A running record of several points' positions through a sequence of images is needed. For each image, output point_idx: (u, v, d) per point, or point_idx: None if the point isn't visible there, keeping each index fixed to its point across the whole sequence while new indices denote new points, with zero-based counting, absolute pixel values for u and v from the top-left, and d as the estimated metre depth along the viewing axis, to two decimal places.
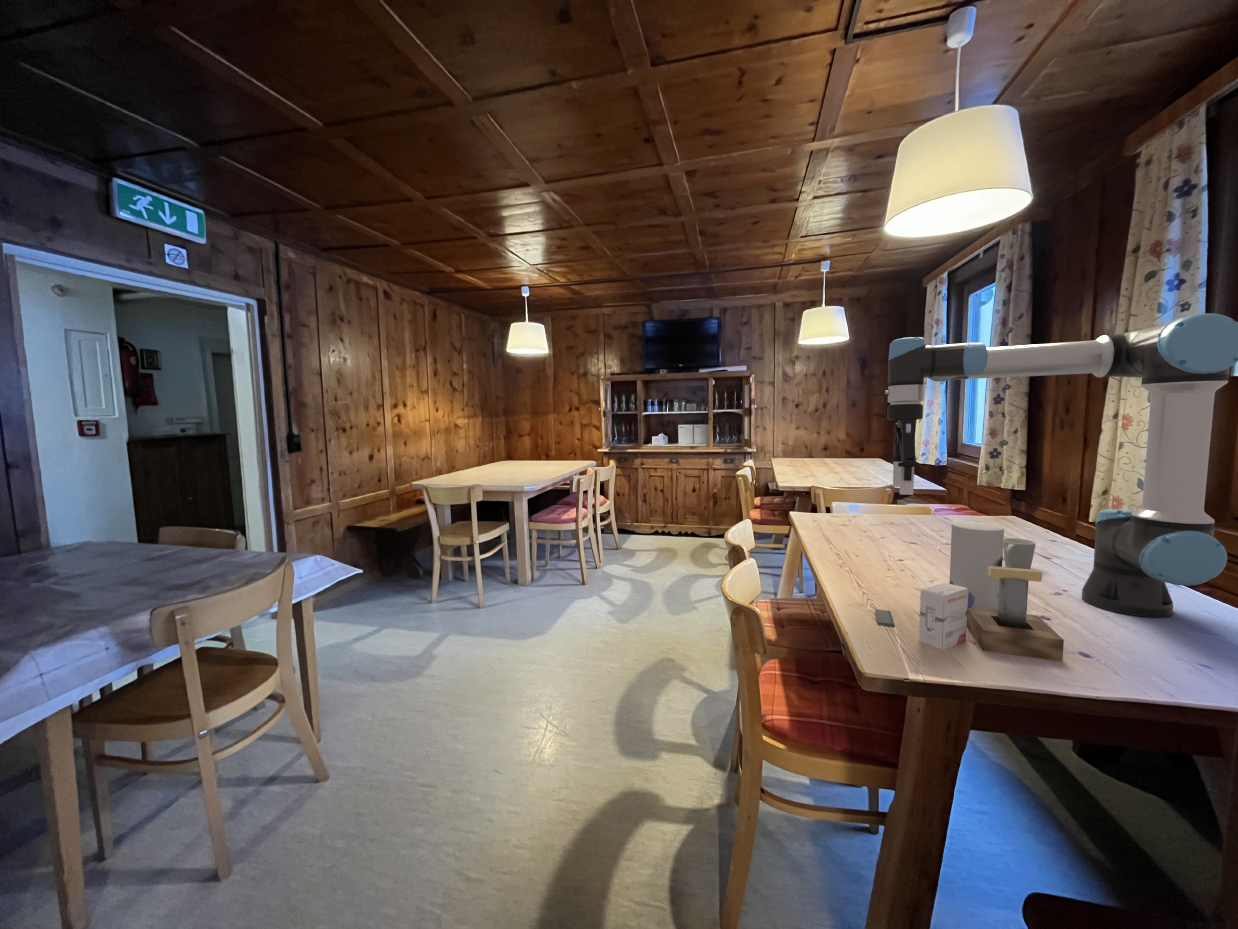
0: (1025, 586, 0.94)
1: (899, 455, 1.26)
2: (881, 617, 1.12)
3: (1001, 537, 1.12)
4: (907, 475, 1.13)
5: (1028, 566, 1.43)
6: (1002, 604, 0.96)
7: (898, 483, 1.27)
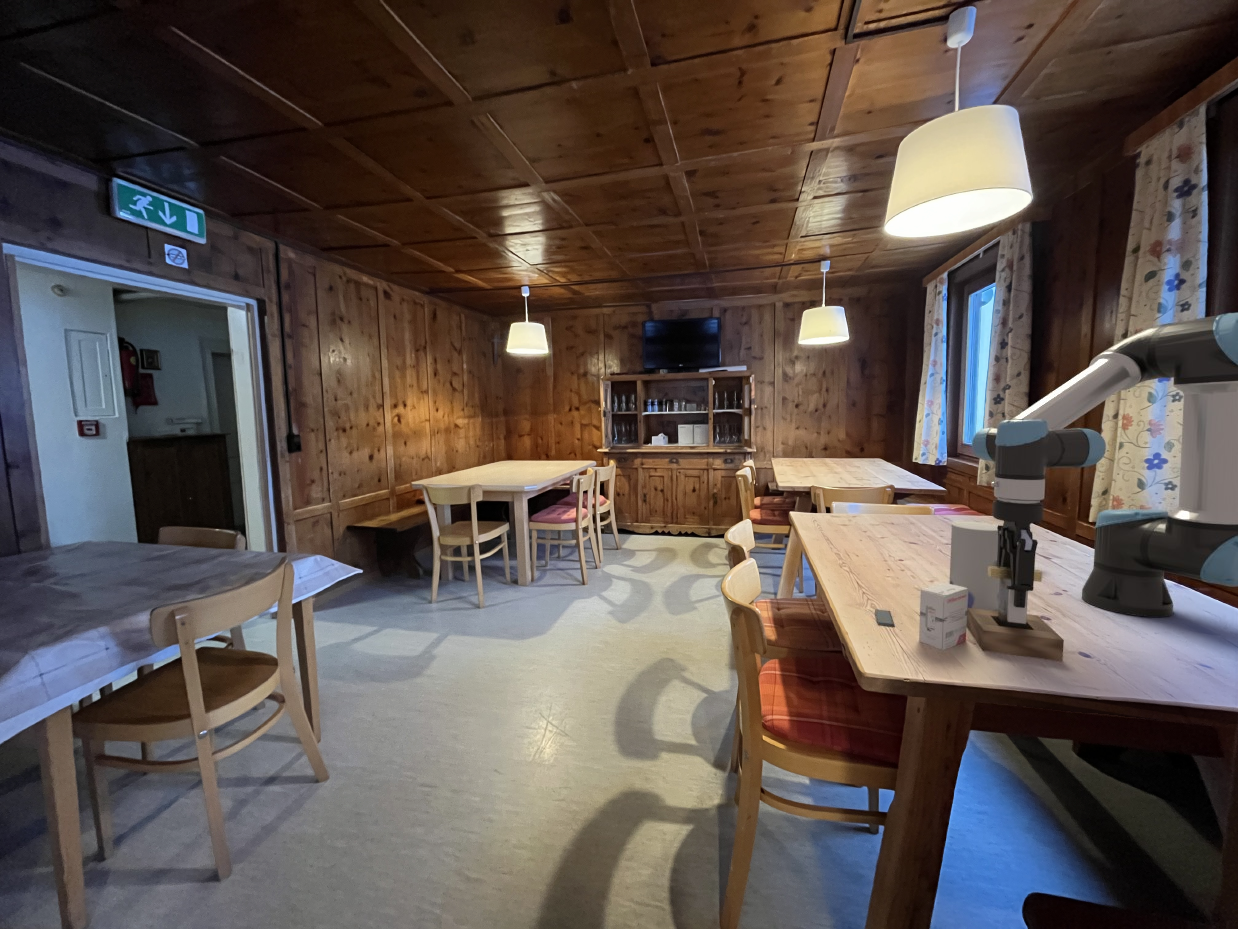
0: None
1: None
2: (881, 617, 1.12)
3: None
4: (1020, 601, 0.93)
5: None
6: (1002, 604, 0.96)
7: None
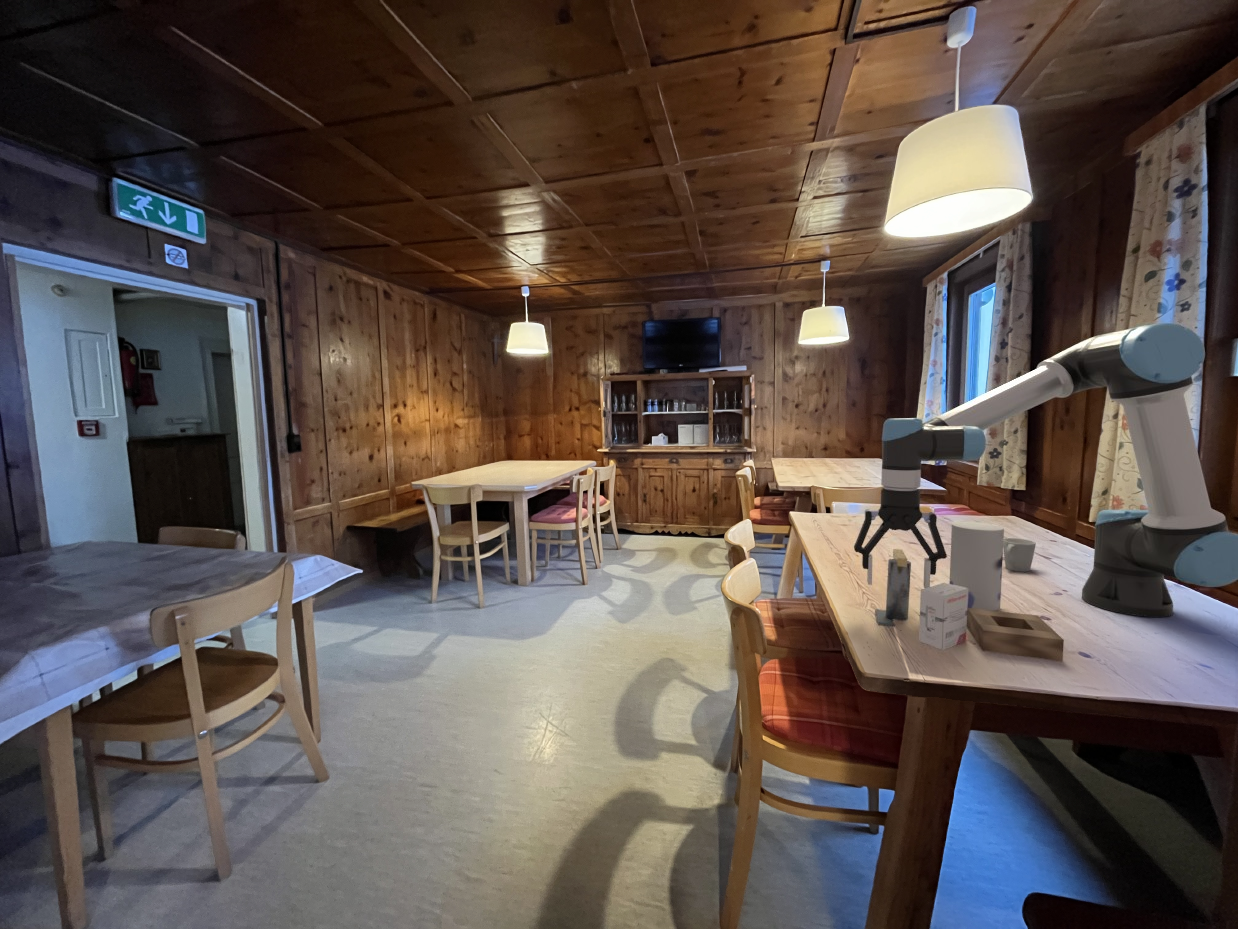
0: (891, 566, 1.09)
1: None
2: (881, 617, 1.12)
3: (1001, 537, 1.12)
4: (862, 562, 1.13)
5: (1028, 566, 1.43)
6: None
7: (924, 584, 1.08)
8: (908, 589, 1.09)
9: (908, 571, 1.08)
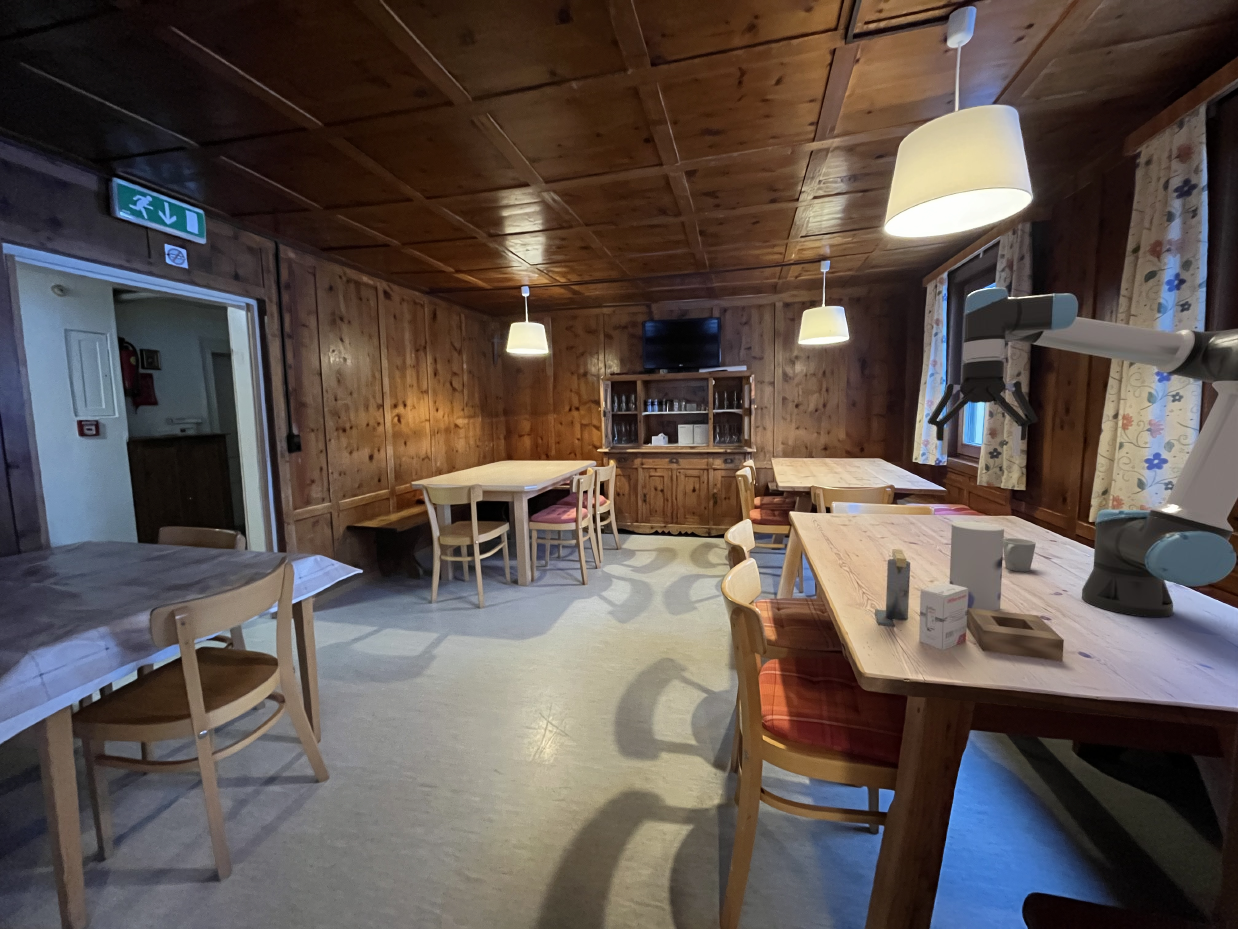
0: (890, 566, 1.09)
1: (1013, 418, 1.09)
2: (881, 617, 1.12)
3: (1001, 537, 1.12)
4: (936, 435, 1.15)
5: (1028, 566, 1.43)
6: None
7: (1013, 451, 1.10)
8: (908, 589, 1.09)
9: (907, 571, 1.08)
